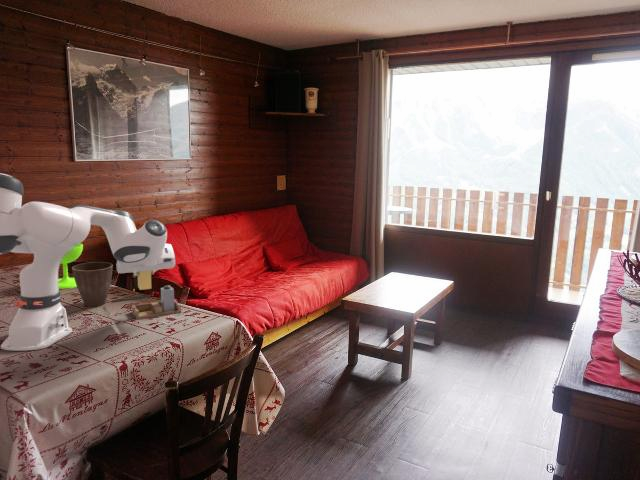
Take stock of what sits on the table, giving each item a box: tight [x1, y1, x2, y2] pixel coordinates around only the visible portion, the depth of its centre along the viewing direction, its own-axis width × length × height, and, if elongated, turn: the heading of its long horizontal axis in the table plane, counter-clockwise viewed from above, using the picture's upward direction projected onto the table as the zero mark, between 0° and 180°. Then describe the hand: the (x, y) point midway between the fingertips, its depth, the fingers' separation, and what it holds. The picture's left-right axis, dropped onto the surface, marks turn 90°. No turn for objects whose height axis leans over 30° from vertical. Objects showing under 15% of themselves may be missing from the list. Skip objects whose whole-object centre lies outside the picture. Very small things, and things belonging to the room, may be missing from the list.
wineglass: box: [58, 243, 84, 290], centre depth 217 cm, size 16×16×18 cm
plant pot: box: [71, 261, 114, 308], centre depth 192 cm, size 15×15×16 cm
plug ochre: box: [137, 270, 152, 291], centre depth 177 cm, size 4×4×10 cm
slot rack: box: [131, 298, 182, 320], centre depth 182 cm, size 9×16×4 cm, turn 123°
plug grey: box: [160, 284, 175, 312], centre depth 183 cm, size 4×4×10 cm
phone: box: [110, 294, 151, 304], centre depth 197 cm, size 8×1×15 cm
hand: (143, 273), depth 177 cm, fingers closed on plug ochre, 4 cm apart
